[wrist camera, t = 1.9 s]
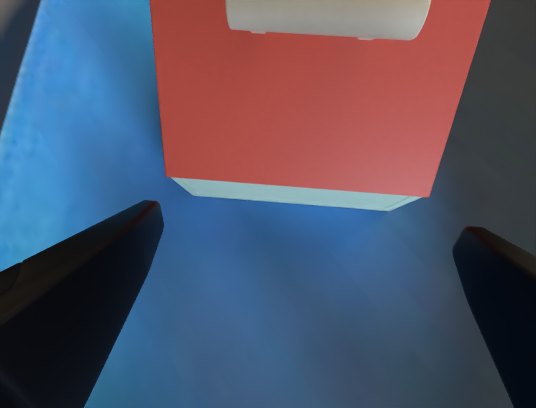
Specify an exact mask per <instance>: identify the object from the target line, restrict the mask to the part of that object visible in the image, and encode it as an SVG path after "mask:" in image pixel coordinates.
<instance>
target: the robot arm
mask: <svg viewBox="0 0 536 408" xmlns="http://www.w3.org/2000/svg"><path fill="white" fill-rule="evenodd" d="M163 228H164V223H163V217H162V212H161V207H160V204H159V203H158V202H157V201H149V200H144V201H142V202H140V203H138V204H136V205H134V206H132V207H130V208H128V209H126V210H124V211H121V212H119V213H117V214H115V215H113V216H111V217H109V218H107V219H105V220H103V221H101V222H99V223H97V224H95V225H93V226H91V227H89V228H87V229H85V230H83V231H81V232H79V233H77V234H75V235H73V236H71V237H69V238H67V239H65V240H63V241H61V242H59V243H57V244H55V245H53V246H51V247H49V248H47V249H45V250H43V251H41V252H39V253H37V254H35V255H33V256H31V257H29V258H27V259H25V260H23V262H22V263H17V264H15V265H13V266H11V267H9V268H7V269H5V270H3V271H1V272H0V408H84V406H85V404H86V402H87V400H88V398H89V396H90V394H91V392H92V390H93V388H94V385H95V383H96V381H97V379H98V377H99V375H100V373H101V371H102V369H103V367H104V365H105V363H106V360H107V358H108V356H109V354H110V352H111V350H112V348H113V346H114V344H115V342H116V340H117V338H118V335H119V333H120V331H121V329H122V327H123V325H124V323H125V321H126V319H127V317H128V315H129V313H130V310H131V308H132V306H133V304H134V302H135V300H136V298H137V296H138V294H139V292H140V290H141V288H142V285H143V283H144V281H145V279H146V277H147V275H148V272H149V270H150V267H151V264H152V261H153V258H154V255H155V252H156V250H157V247H158V244H159V241H160V238H161V235H162V232H163ZM452 253H453V258H454V261H455V264H456V267H457V270H458V274H459V277H460V280H461V283H462V286H463V289H464V293H465V296H466V298H467V301H468V304H469V306H470V309H471V311H472V313H473V316H474V318H475V320H476V322H477V325H478V327H479V329H480V331H481V334H482V336H483V338H484V341H485V343H486V345H487V347H488V350H489V352H490V354H491V356H492V359H493V361H494V363H495V366H496V368H497V370H498V372H499V375H500V377H501V379H502V381H503V384H504V386H505V388H506V391H507V393H508V395H509V397H510V400H511V402H512V404H513V406H514V408H536V256H534V255H532V254H530V253H528V252H526V251H525V250H523V249H521V248H519V247H517V246H516V245H514V244H512V243H510V242H508V241H506V240H505V239H503V238H501V237H499V236H497V235H496V234H494V233H492V232H490V231H488V230H486V229H485V228H482V227H473V226H467V227H465V228H464V229H463V230H462V232H461V234H460V235H459V237H458V239H457V241H456V243H455V244H454V246H453V250H452Z"/></svg>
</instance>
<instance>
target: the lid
mask: <svg viewBox="0 0 536 408" xmlns="http://www.w3.org/2000/svg"><path fill="white" fill-rule="evenodd" d="M490 1H491V0H150V11H151V22H152V33H153V44H154V55H155V66H156V77H157V87H158V98H159V109H160V120H161V131H162V142H163V153H164V164H165V175H166V177H173V178H186V179H199V180H212V181H225V182H237V183H250V184H263V185H276V186H289V187H302V188H314V189H327V190H340V191H353V192H366V193H379V194H391V195H404V196H417V197H429V195H430V192H431V189H432V186H433V183H434V180H435V176H436V173H437V170H438V167H439V164H440V160H441V157H442V154H443V151H444V148H445V145H446V141H447V138H448V135H449V132H450V129H451V125H452V122H453V119H454V116H455V113H456V110H457V106H458V103H459V100H460V97H461V94H462V90H463V87H464V84H465V81H466V78H467V75H468V71H469V68H470V65H471V62H472V59H473V55H474V52H475V49H476V46H477V43H478V39H479V36H480V33H481V30H482V27H483V24H484V20H485V17H486V14H487V11H488V8H489V4H490Z"/></svg>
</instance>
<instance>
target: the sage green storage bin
mask: <svg viewBox="0 0 536 408" xmlns="http://www.w3.org/2000/svg"><path fill="white" fill-rule="evenodd" d="M171 178H172V179H173V180H174V181H176V182H177V183H178V184H179V185H181V186H182V187H183V188H184V189H186V190H187V191H188V192H189V193H191V194H192V195H193V196H206V197H218V198H231V199H243V200H256V201H268V202H281V203H294V204H306V205H319V206H331V207H344V208H356V209H369V210H381V211H390V210H392V209H395V208H397V207H400V206H402V205H404V204H407V203H409V202H412V201H414V200H416V199H419V198H421V197H417V196H404V195H391V194H379V193H366V192H353V191H340V190H327V189H314V188H302V187H289V186H276V185H263V184H250V183H237V182H225V181H212V180H199V179H186V178H173V177H171Z"/></svg>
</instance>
